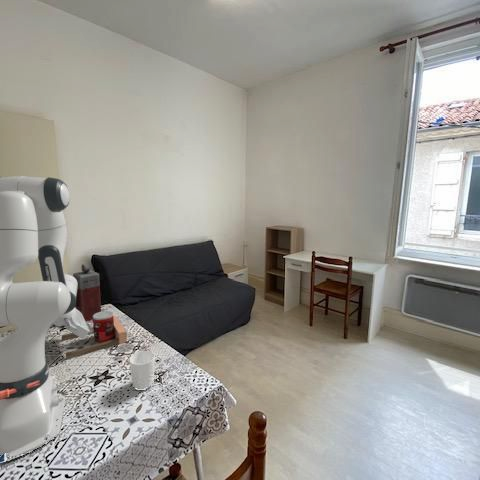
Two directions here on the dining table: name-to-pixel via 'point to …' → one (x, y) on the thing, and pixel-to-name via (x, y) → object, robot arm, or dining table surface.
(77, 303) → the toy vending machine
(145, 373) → the white cup
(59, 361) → the dining table surface
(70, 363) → the dining table surface
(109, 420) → the dining table surface
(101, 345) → the guide rails
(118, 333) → the end stop
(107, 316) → the canned food
